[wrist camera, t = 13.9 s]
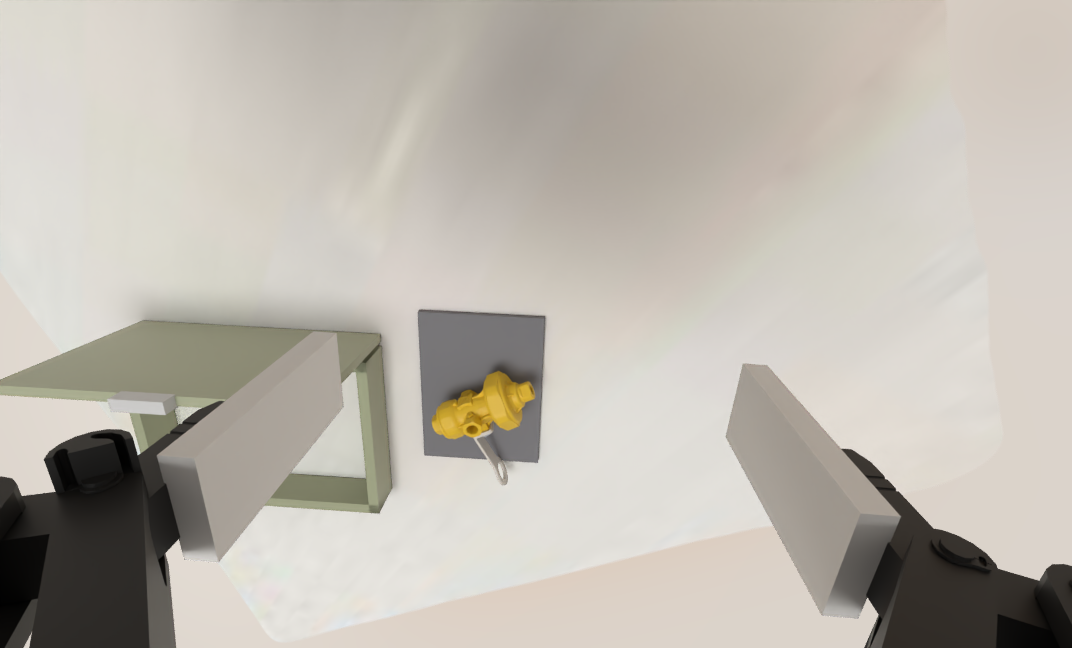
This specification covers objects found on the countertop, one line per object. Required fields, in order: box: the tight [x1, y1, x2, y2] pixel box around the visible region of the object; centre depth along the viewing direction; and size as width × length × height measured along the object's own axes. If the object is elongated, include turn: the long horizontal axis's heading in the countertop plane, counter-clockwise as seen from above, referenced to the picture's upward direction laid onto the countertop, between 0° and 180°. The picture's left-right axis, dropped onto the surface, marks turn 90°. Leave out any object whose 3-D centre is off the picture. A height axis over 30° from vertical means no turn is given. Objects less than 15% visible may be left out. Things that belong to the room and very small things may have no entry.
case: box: [0, 321, 392, 513], centre depth 45 cm, size 18×24×15 cm
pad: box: [418, 310, 545, 463], centre depth 49 cm, size 16×12×1 cm
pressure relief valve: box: [432, 371, 535, 485], centre depth 48 cm, size 6×12×10 cm
